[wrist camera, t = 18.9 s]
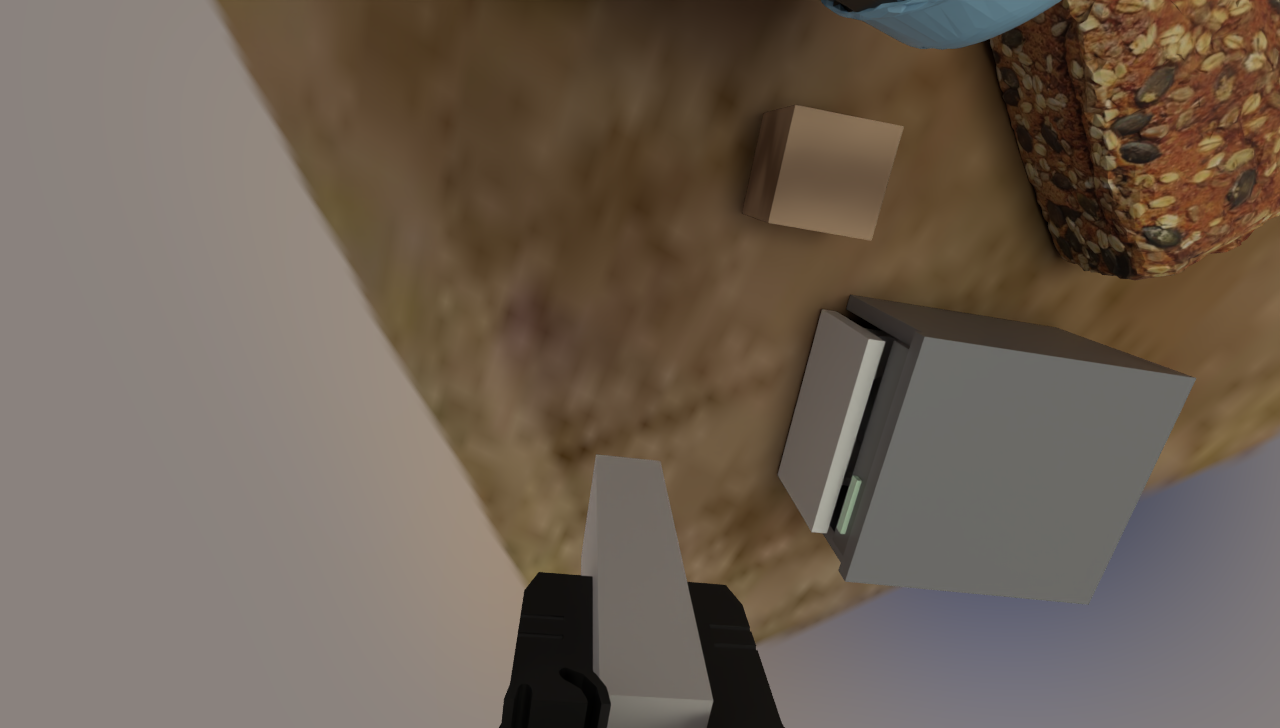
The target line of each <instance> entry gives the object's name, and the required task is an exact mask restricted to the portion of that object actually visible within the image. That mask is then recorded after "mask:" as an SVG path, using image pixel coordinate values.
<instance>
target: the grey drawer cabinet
mask: <svg viewBox="0 0 1280 728" xmlns="http://www.w3.org/2000/svg"><path fill="white" fill-rule="evenodd" d="M846 309H847V310H849V311H850V312H852V313H854V314H856V315H857V316H859V317H861V318H862V319H864V320H866V321H868V322H869V323H871V324H873V325H874V326H876V327H878V328H880V329H881V330H883V331H885V332H886V333H888V334H890V335H892V336H893V337H895V338H897V339H898V340H900V341H893V345H892V348H891V351H890V354H889V358H888V361H887V364H886V367H885V371H884V374H883V377H882V380H881V383H880V387H879V390H878V393H877V396H876V400H875V403H874V406H873V409H872V413H871V416H870V419H869V422H868V425H867V429H866V432H865V435H864V438H863V442H862V445H861V448H860V451H859V454H858V458H857V461H856V464H855V467H854V471H853V474H852V477H851V480H850V484H849V486H845V485H841V488H840V492H839V495H838V498H837V502H836V505H835V508H834V511H833V515H832V518H831V521H830V524H829V528H828V531H827V533H823V535H824V536H825V538H826V539H827V541H828V543H829V544H830V546H831V547H832V549H833V551H834V552H835V554H836V555H837V557H838V559H839V560H840V562H841V564H840V567H839V572H840V574H841V575H842V577H843V579H844V580H845V581H846V582H857V583H868V584H878V585H889V586H899V587H910V588H920V589H931V590H941V591H952V592H962V593H973V594H983V595H995V596H1004V597H1015V598H1026V599H1036V600H1046V601H1057V602H1067V603H1078V604H1089V603H1090V600H1091V598H1092V596H1093V594H1094V592H1095V590H1096V588H1097V586H1098V583H1099V582H1100V579H1101V577H1102V575H1103V573H1104V571H1105V569H1106V567H1107V565H1108V563H1109V560H1110V558H1111V556H1112V554H1113V552H1114V550H1115V548H1116V546H1117V544H1118V542H1119V540H1120V537H1121V535H1122V533H1123V531H1124V529H1125V527H1126V525H1127V523H1128V521H1129V519H1130V516H1131V514H1132V512H1133V510H1134V508H1135V506H1136V504H1137V502H1138V500H1139V498H1140V495H1141V493H1142V491H1143V489H1144V487H1145V485H1146V483H1147V481H1148V479H1149V477H1150V475H1151V472H1152V470H1153V468H1154V466H1155V464H1156V462H1157V460H1158V458H1159V456H1160V454H1161V451H1162V449H1163V447H1164V445H1165V443H1166V441H1167V439H1168V437H1169V435H1170V433H1171V430H1172V428H1173V426H1174V424H1175V422H1176V420H1177V418H1178V416H1179V414H1180V412H1181V409H1182V407H1183V405H1184V403H1185V401H1186V399H1187V397H1188V395H1189V393H1190V391H1191V388H1192V386H1193V384H1194V382H1195V380H1196V378H1194V377H1192V376H1189V375H1186V374H1183V373H1181V372H1178V371H1175V370H1172V369H1170V368H1167V367H1164V366H1161V365H1158V364H1156V363H1153V362H1150V361H1147V360H1145V359H1142V358H1139V357H1136V356H1134V355H1131V354H1128V353H1125V352H1122V351H1120V350H1117V349H1114V348H1111V347H1109V346H1106V345H1103V344H1100V343H1098V342H1095V341H1092V340H1089V339H1086V338H1084V337H1081V336H1078V335H1075V334H1073V333H1070V332H1067V331H1064V330H1061V329H1059V328H1056V327H1049V326H1043V325H1037V324H1031V323H1024V322H1018V321H1012V320H1005V319H999V318H993V317H987V316H980V315H974V314H968V313H962V312H955V311H949V310H943V309H937V308H930V307H924V306H918V305H912V304H905V303H899V302H893V301H886V300H880V299H874V298H868V297H861V296H855V295H850V297H849V301H848V305H847V308H846ZM901 341H902V342H901Z"/></svg>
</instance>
